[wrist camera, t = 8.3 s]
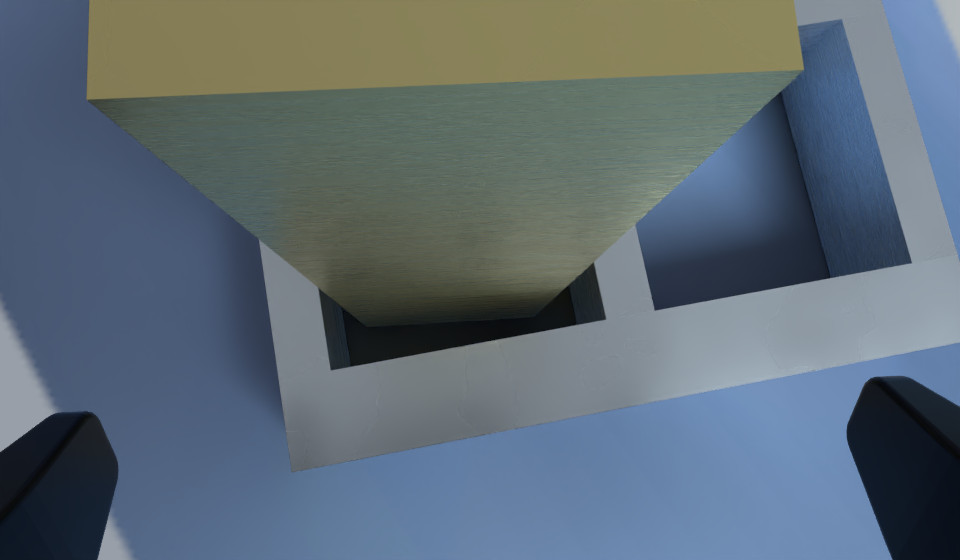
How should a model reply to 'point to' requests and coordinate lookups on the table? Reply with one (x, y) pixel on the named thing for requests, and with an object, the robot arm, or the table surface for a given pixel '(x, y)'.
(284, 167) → the brass peg
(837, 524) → the table surface
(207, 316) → the table surface
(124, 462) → the table surface
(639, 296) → the metal frame
